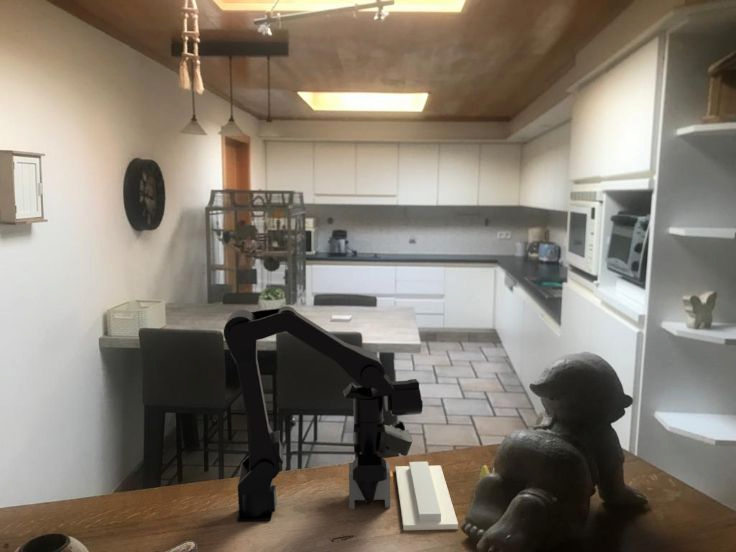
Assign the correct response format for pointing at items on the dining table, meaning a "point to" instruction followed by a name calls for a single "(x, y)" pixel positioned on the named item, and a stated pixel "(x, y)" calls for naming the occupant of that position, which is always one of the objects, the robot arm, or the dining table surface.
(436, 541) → the dining table surface
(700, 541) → the dining table surface
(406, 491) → the rail plate
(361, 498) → the din module
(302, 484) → the dining table surface
